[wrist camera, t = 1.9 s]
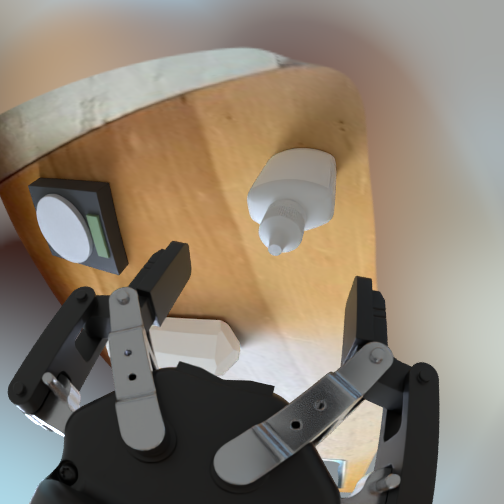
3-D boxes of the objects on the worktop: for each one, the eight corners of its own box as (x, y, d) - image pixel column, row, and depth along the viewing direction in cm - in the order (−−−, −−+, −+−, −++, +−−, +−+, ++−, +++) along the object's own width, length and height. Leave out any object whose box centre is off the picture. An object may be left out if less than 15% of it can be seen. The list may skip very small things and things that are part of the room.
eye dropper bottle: (282, 129, 23) (237, 191, 14) (344, 160, 23) (345, 243, 14) (263, 173, 26) (213, 256, 17) (321, 200, 26) (304, 298, 17)
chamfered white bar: (223, 330, 34) (92, 317, 43) (230, 383, 35) (101, 358, 44) (246, 312, 41) (122, 307, 50) (252, 359, 42) (129, 344, 51)
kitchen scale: (39, 177, 34) (23, 188, 31) (109, 182, 31) (91, 195, 29) (61, 246, 41) (49, 258, 38) (128, 264, 38) (116, 279, 36)
